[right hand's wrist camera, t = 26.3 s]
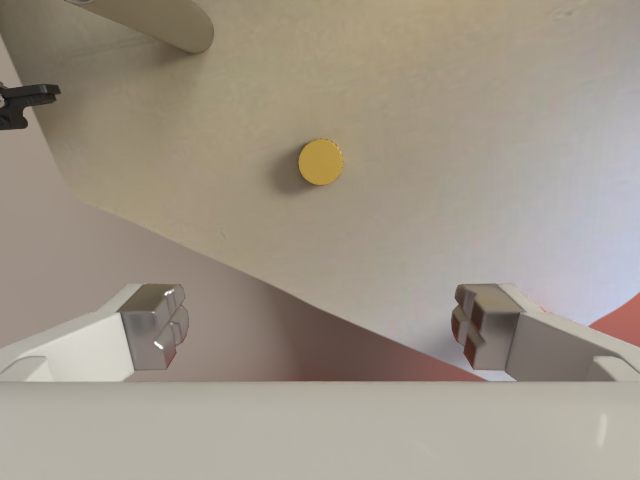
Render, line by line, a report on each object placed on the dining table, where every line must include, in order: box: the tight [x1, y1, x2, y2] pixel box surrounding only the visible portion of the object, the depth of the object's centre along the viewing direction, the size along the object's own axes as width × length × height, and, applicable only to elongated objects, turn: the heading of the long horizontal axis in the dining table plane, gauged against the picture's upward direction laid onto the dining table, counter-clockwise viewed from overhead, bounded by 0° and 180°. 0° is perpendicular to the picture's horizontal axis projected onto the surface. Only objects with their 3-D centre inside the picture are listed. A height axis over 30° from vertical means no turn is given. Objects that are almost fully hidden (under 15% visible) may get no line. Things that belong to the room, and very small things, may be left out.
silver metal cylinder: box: [64, 0, 214, 54], centre depth 25 cm, size 4×4×19 cm
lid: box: [298, 138, 343, 185], centre depth 38 cm, size 5×5×2 cm
